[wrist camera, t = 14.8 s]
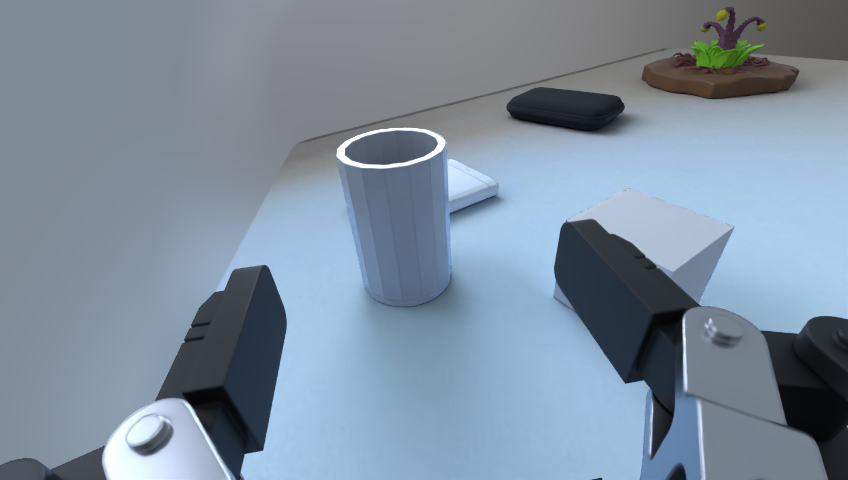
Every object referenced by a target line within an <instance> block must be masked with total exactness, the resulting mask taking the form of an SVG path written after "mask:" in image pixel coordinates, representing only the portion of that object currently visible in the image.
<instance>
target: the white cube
mask: <svg viewBox="0 0 848 480" xmlns="http://www.w3.org/2000/svg"><path fill="white" fill-rule="evenodd" d="M585 219H594V220H596V221H597V222H598V223H599V224H600V225H601V226H602V227H603V228H604V229H605V230H606V231H607V232H608V233H609V234H616V235H617V236H619V237H621V238H623V239H625V240H627V241H629V242H631V243H633V244H634V245H635V246H636V247H637V248H638V249H639V250H640V251H641V252H642V253H644V254H645V257H646V258H649V259H650V260H651V261H652V262H653V263H654V264H656V265H657V268H660V269H661V270H662V271H663V272H664V273H665V274H666V275H668V276H669V277H670V278H671V279H672V280H673V281H674V282H675V283H676V284H677V285H678V286H679V287H681V288H682V289H683V290H684V291H685V292H686V293H687V294H688V295H689V296H690V297H691V298H693V299H694V300H695V301H696V302H697V303H699V301H700V299H701V297H702V295H703V292H704V290H705V288H706V286H707V284H708V282H709V280H710V278H711V276H712V273H713V271H714V269H715V267H716V265H717V263H718V261H719V259H720V256H721V254H722V252H723V250H724V248H725V246H726V244H727V242H728V240H729V237H730V235H731V233H732V231H733V229H734V227H735V226H732V225H730V224H727V223H724V222H721V221H719V220H716V219H713V218H710V217H707V216H705V215H702V214H699V213H696V212H694V211H691V210H688V209H685V208H683V207H680V206H677V205H674V204H671V203H669V202H666V201H663V200H660V199H658V198H655V197H652V196H649V195H646V194H644V193H641V192H638V191H635V190H633V189H630V188H627V189H625V190H623V191H621V192H619V193H617V194H616V195H614V196H612V197H610V198H608V199H606V200H604V201H602V202H600V203H598V204H596V205H594V206H592V207H590V208H588V209H586V210H584V211H582V212H581V213H579V214H577V215H575V216H573V217H571V218H569V219H567V220H566V222H572V221H579V220H585ZM553 297H555V298H556V299H558V300H559V301H561V302H562V303H564V304H565V305H567V306H568V307H569V308H571V309H572V310H574V308H573V307H572V305H571V304H570V302H569V301H568V300H567V298H566V297H565V295H564V294H563V292H562V291H561V289H560V288H559V286H558V284H557V281H556V284H555V290H554V296H553ZM574 311H575V310H574ZM575 312H576V311H575Z"/></svg>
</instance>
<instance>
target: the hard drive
mask: <svg viewBox="0 0 848 480" xmlns="http://www.w3.org/2000/svg"><path fill="white" fill-rule="evenodd" d="M447 166H448V192H449V213H451V212H454V211H456V210H459V209H461V208H464V207H466V206H469V205H471V204H474V203H476V202H479V201H481V200H484V199H486V198H489V197H491V196H494V195H496V194H498V187H499V186H498V183H497V182H496V181H495V180H493V179H491V178H489V177H487V176H485V175H483V174H481V173H479V172H477V171H475V170H473V169H471V168H469V167H467V166H465V165H463V164H461V163H459V162H457V161H455V160H453V159H448V160H447Z"/></svg>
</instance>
